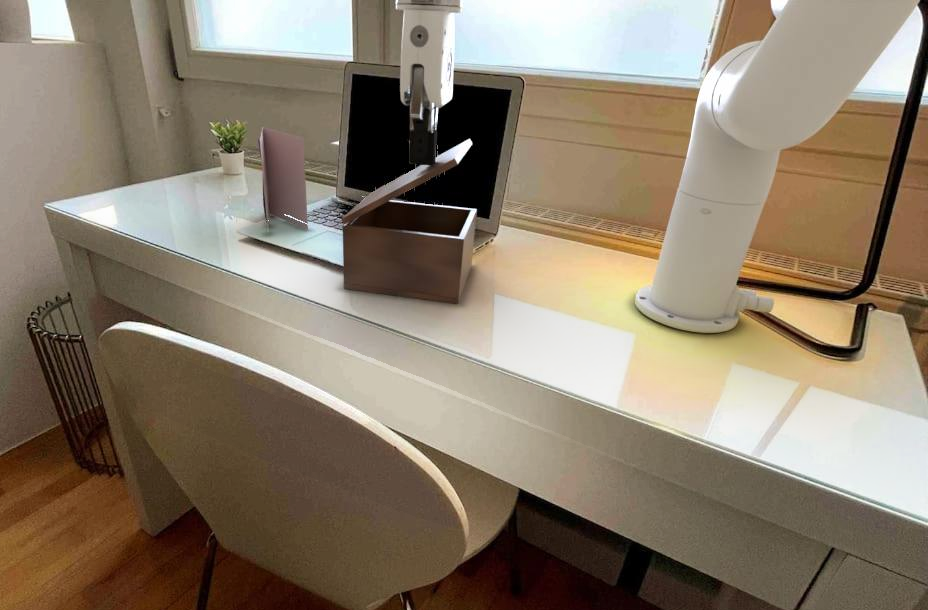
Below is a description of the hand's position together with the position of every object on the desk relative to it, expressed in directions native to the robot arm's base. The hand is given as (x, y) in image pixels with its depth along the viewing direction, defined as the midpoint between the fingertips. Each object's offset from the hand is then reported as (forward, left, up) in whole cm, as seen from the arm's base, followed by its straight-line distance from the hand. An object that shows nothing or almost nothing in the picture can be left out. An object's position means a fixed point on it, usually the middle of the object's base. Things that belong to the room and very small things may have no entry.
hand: (421, 163), depth 73 cm
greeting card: (+27, -16, -16) cm, 35 cm away
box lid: (+1, 0, -3) cm, 3 cm away
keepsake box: (+1, 0, -16) cm, 16 cm away
